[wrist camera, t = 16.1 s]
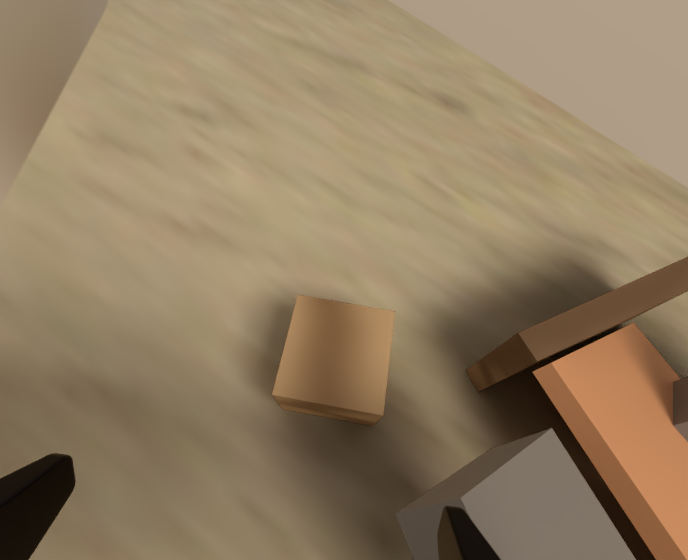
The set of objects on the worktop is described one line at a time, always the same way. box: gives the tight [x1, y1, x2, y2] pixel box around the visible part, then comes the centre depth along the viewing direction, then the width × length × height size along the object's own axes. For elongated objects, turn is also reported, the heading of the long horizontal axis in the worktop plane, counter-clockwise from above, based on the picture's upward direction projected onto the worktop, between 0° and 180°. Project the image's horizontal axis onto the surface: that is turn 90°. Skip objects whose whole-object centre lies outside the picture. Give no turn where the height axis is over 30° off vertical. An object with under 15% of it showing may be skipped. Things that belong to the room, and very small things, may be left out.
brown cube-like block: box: [272, 295, 395, 426], centre depth 21 cm, size 6×6×5 cm
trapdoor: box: [395, 323, 688, 560], centre depth 16 cm, size 14×23×3 cm
